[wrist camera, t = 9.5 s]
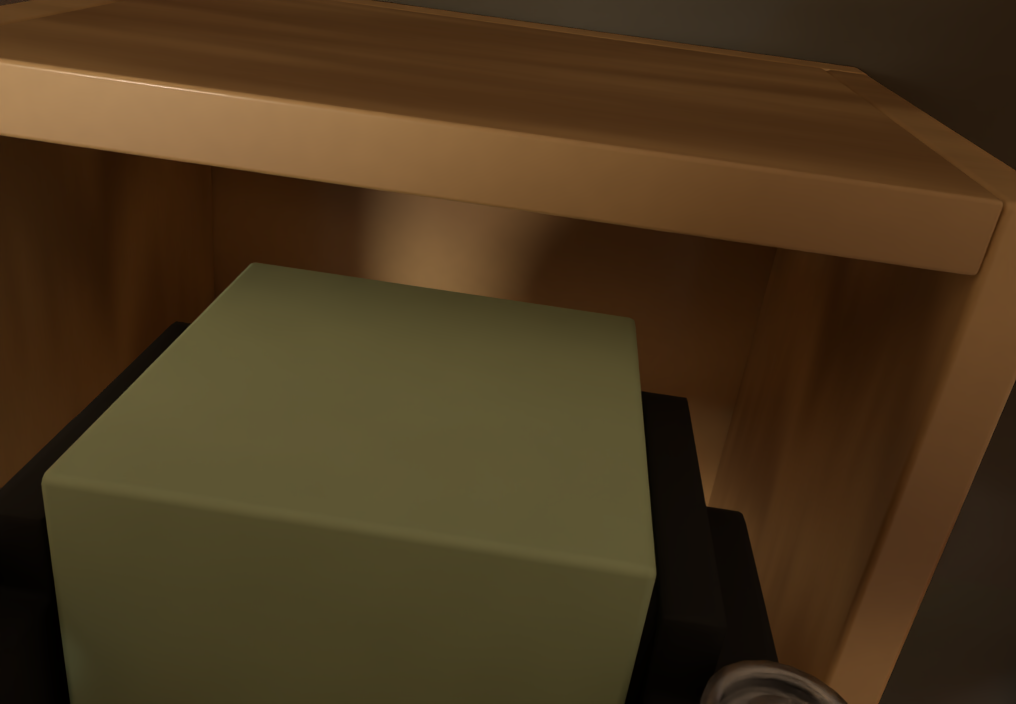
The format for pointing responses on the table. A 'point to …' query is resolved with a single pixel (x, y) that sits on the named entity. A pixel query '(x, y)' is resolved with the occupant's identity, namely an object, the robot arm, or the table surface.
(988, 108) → the table surface
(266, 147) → the chest
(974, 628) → the table surface
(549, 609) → the block
